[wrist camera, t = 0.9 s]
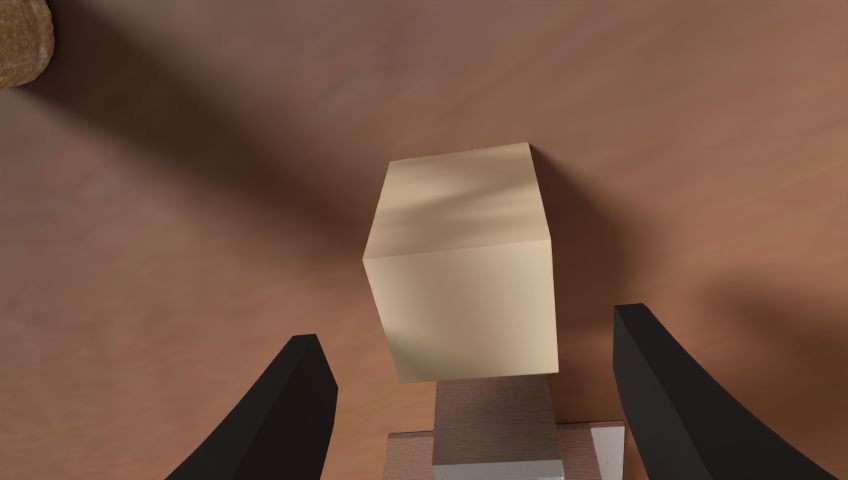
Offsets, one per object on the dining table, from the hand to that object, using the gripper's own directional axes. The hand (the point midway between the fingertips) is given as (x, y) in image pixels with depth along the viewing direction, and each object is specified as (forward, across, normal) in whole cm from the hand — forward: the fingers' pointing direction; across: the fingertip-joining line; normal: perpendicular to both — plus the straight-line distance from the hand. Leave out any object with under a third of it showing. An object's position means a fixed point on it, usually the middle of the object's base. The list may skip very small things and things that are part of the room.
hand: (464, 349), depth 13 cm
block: (+6, 0, 0) cm, 7 cm away
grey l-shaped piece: (+6, +1, +11) cm, 13 cm away
